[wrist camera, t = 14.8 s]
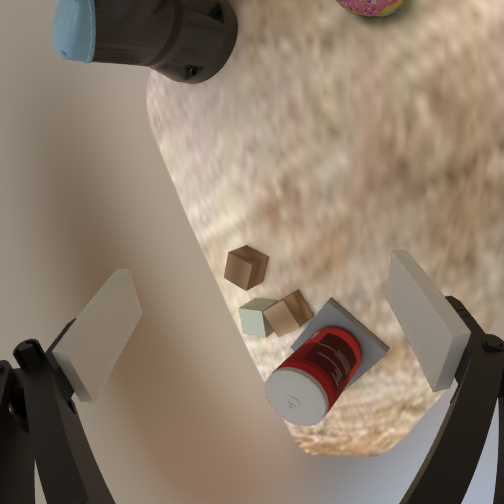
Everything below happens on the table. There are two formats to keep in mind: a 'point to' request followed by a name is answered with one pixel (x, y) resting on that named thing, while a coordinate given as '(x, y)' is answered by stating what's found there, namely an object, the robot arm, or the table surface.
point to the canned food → (314, 376)
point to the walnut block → (245, 267)
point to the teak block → (288, 313)
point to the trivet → (341, 318)
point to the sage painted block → (256, 317)
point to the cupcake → (371, 6)
